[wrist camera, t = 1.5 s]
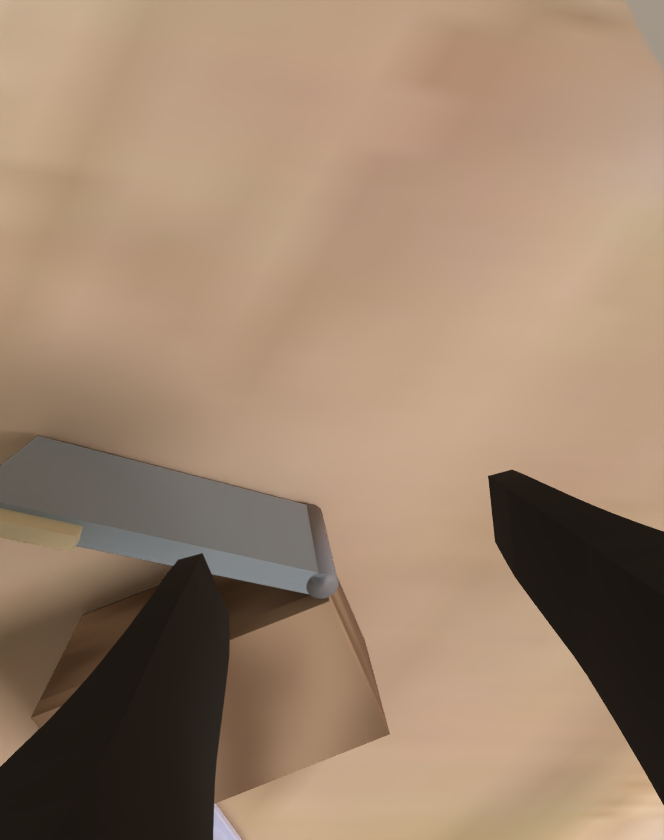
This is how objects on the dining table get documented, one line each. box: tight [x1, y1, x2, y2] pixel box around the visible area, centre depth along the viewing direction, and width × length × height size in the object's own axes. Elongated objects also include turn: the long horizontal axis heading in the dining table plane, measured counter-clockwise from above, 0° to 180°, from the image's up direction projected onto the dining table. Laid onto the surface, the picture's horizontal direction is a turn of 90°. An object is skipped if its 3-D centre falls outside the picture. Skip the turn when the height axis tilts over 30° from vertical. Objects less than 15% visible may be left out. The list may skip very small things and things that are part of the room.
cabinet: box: [31, 574, 390, 804], centre depth 21 cm, size 12×8×5 cm, turn 110°
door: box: [0, 436, 338, 599], centre depth 18 cm, size 13×1×6 cm, turn 70°
